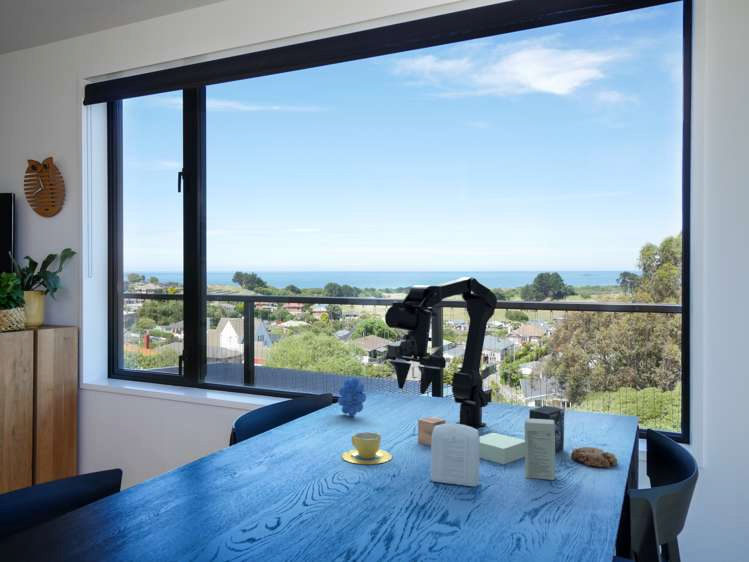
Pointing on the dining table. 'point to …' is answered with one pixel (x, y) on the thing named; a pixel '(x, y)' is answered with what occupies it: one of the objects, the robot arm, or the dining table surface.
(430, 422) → the terracotta block
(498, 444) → the sage base block
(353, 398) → the grapes
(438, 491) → the dining table surface
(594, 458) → the cookie
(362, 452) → the cup
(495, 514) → the dining table surface
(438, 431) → the white gravestone
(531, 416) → the box
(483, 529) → the dining table surface
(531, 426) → the skincare box
